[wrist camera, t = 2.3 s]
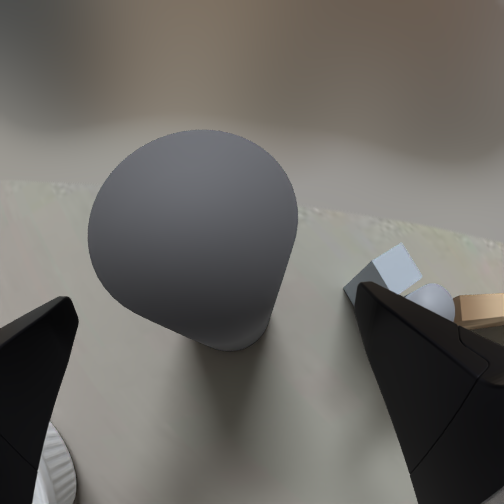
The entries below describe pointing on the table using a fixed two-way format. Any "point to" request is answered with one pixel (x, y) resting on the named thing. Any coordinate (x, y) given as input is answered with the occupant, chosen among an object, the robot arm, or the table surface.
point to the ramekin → (55, 472)
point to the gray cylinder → (196, 235)
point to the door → (479, 310)
